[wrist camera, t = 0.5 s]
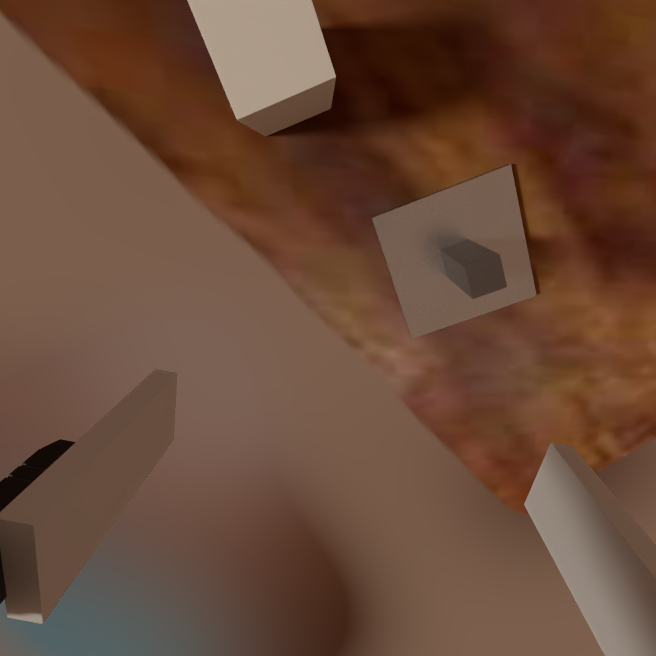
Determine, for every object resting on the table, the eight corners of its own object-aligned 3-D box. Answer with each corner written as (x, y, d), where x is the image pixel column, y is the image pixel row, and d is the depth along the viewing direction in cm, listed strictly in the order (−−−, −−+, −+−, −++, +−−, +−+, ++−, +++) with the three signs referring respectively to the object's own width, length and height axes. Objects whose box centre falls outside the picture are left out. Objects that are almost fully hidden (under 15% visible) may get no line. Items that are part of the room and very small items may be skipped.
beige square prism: (235, 60, 31) (186, -2, 19) (304, 28, 30) (294, -54, 19) (265, 136, 33) (236, 120, 21) (330, 108, 32) (335, 76, 21)
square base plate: (371, 217, 35) (383, 229, 28) (507, 164, 34) (555, 163, 27) (410, 336, 39) (429, 371, 32) (533, 293, 38) (579, 321, 31)
